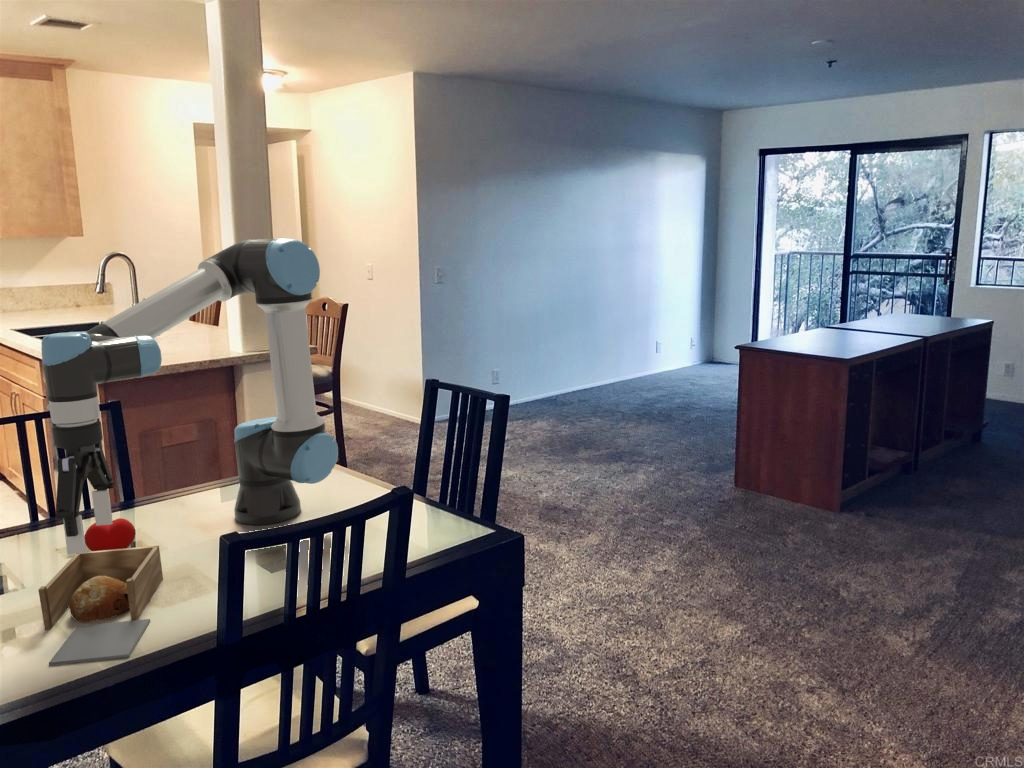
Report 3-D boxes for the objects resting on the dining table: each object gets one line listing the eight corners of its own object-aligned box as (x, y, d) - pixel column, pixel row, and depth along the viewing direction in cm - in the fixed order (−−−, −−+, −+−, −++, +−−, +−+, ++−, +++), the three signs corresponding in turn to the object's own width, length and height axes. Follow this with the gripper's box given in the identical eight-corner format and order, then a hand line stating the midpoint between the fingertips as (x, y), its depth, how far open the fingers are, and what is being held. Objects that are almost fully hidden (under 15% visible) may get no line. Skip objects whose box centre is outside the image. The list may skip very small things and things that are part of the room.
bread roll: (100, 615, 151) (76, 581, 149) (148, 590, 151) (124, 556, 149) (76, 642, 141) (50, 606, 140) (127, 615, 141) (102, 579, 140)
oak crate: (163, 578, 157) (158, 542, 156) (136, 621, 141) (130, 581, 139) (82, 586, 155) (76, 549, 154) (44, 630, 138) (38, 589, 137)
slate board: (150, 621, 140) (149, 618, 140) (128, 657, 129) (128, 654, 129) (77, 628, 139) (77, 626, 139) (49, 665, 127) (48, 662, 127)
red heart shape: (89, 579, 158) (82, 531, 157) (89, 566, 165) (82, 520, 163) (140, 568, 163) (134, 522, 161) (138, 556, 169) (132, 511, 167)
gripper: (80, 408, 150) (93, 515, 154) (21, 441, 126) (39, 567, 130) (122, 405, 151) (135, 512, 155) (71, 438, 127) (88, 563, 131)
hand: (91, 538), depth 143 cm, fingers open, 13 cm apart
